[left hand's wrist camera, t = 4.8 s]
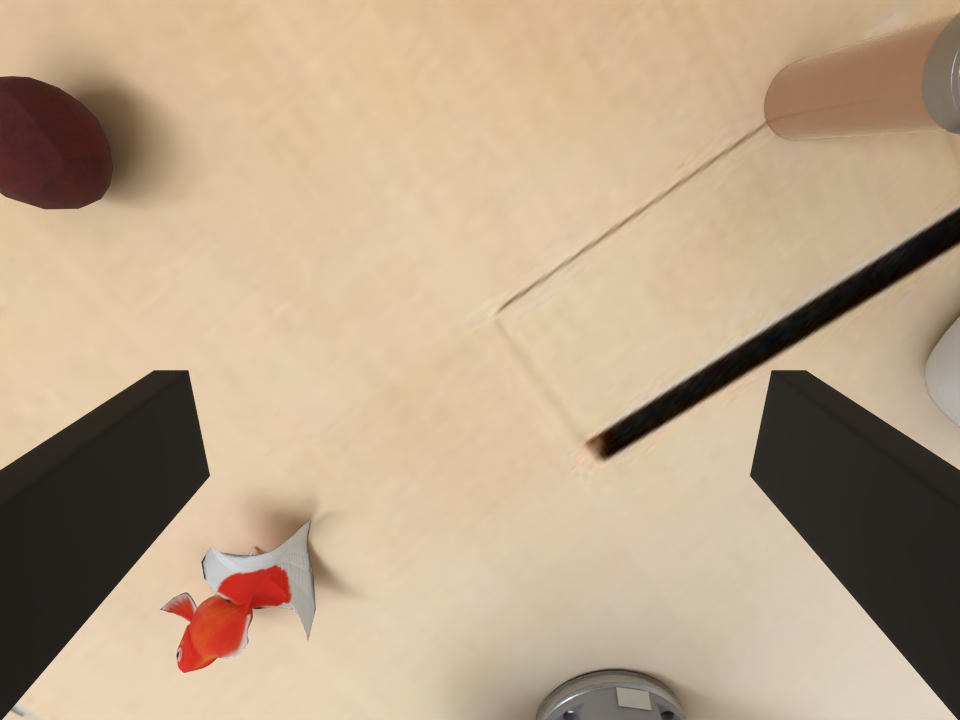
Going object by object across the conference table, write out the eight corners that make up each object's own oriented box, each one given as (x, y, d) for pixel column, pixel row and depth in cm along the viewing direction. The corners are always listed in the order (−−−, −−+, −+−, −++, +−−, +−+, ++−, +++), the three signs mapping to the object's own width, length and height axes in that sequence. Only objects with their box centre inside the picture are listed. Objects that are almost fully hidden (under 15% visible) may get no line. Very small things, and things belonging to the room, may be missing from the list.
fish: (104, 586, 43) (102, 691, 36) (269, 461, 47) (299, 532, 39) (196, 638, 50) (212, 736, 42) (335, 525, 53) (372, 596, 46)
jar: (853, 83, 35) (1112, 31, 21) (805, 153, 36) (1015, 149, 22) (796, 44, 34) (1023, -39, 20) (749, 117, 36) (929, 88, 21)
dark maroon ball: (73, 60, 34) (-24, 37, 28) (161, 167, 37) (91, 169, 30) (-2, 130, 36) (-112, 123, 29) (87, 229, 38) (4, 243, 31)
